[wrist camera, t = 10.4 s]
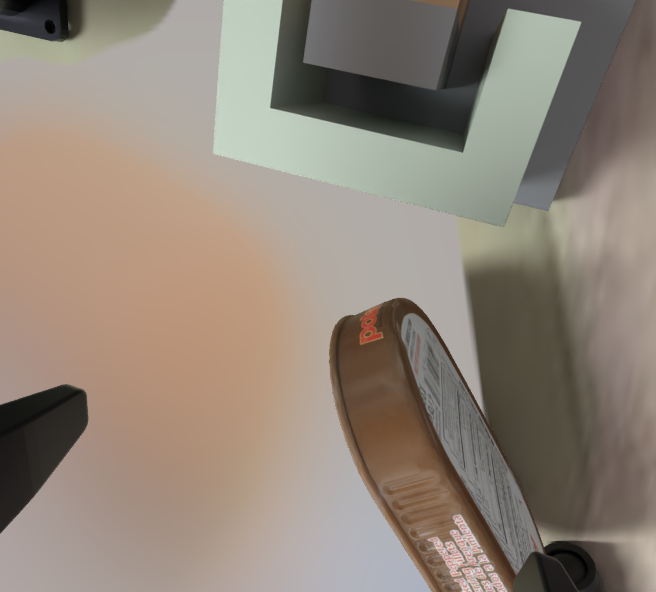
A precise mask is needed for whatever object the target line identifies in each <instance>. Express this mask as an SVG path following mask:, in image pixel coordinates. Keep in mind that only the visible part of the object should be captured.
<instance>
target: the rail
mask: <svg viewBox="0 0 656 592" xmlns="http://www.w3.org/2000/svg"><path fill="white" fill-rule="evenodd" d="M469 2H470V0H312V2H311V9H310V16H309V23H308V30H307V38H306V45H305V52H304V59H303V63H307V64H312V65H317V66H322V67H326V68H331V69H336V70H341V71H345V72H350V73H355V74H360V75H365V76H369V77H374V78H379V79H384V80H388V81H393V82H398V83H403V84H407V85H412V86H417V87H422V88H427V89H431V90H442V89H446V85H447V82H448V78H449V74H450V71H451V67H452V64H453V60H454V56H455V53H456V49H457V45H458V42H459V38H460V34H461V31H462V27H463V23H464V20H465V16H466V13H467V9H468V5H469Z"/></svg>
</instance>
